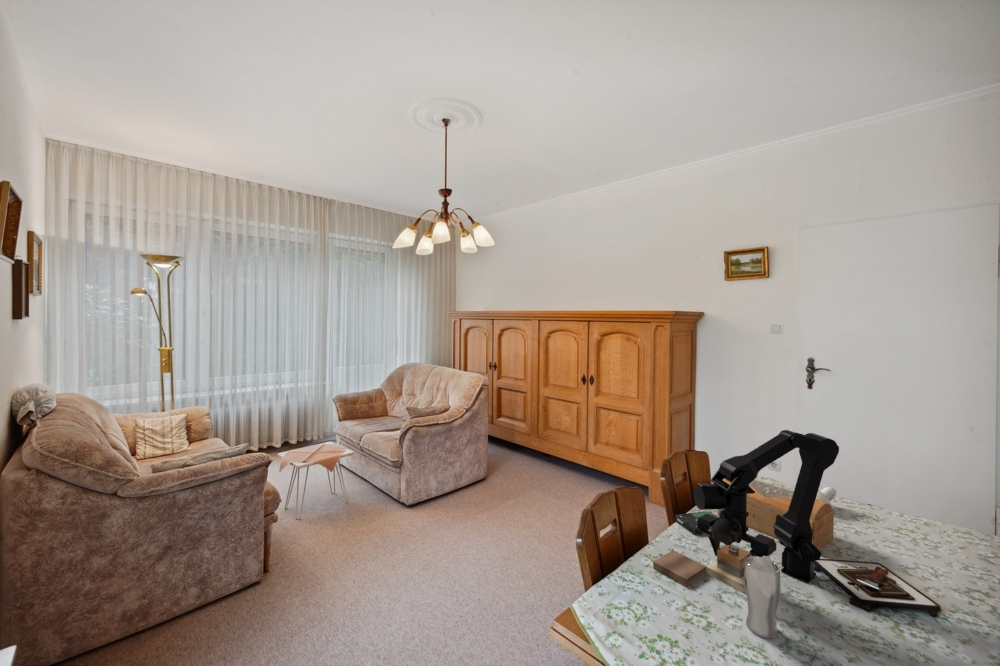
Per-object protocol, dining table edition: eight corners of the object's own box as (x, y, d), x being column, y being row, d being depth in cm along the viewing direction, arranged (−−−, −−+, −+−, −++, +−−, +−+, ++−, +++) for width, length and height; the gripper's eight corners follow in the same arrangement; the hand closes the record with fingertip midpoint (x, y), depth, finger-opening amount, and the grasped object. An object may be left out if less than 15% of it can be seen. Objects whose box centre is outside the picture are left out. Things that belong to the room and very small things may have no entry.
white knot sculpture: (793, 508, 153) (794, 484, 153) (800, 498, 161) (801, 476, 161) (831, 518, 145) (832, 493, 145) (837, 508, 153) (837, 484, 153)
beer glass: (736, 618, 96) (737, 556, 95) (764, 616, 96) (765, 554, 96) (758, 641, 89) (759, 574, 88) (787, 639, 89) (788, 572, 89)
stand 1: (706, 573, 113) (706, 566, 113) (686, 586, 107) (686, 579, 107) (673, 556, 121) (673, 550, 121) (653, 568, 115) (653, 561, 115)
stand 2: (761, 578, 110) (761, 571, 110) (744, 592, 105) (744, 585, 105) (723, 561, 119) (723, 554, 119) (706, 573, 113) (706, 566, 113)
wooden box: (836, 540, 130) (837, 498, 130) (813, 555, 122) (813, 510, 121) (741, 505, 156) (741, 469, 156) (716, 515, 148) (716, 477, 147)
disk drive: (694, 537, 133) (732, 531, 137) (695, 529, 133) (732, 523, 137) (674, 522, 143) (709, 517, 147) (674, 514, 143) (709, 509, 147)
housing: (750, 570, 111) (750, 549, 111) (740, 578, 107) (740, 556, 107) (727, 560, 116) (727, 539, 116) (717, 567, 112) (717, 546, 112)
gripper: (686, 503, 114) (685, 557, 115) (758, 530, 99) (757, 593, 99) (706, 493, 121) (706, 545, 121) (777, 518, 105) (776, 576, 106)
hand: (733, 563), depth 112 cm, fingers open, 9 cm apart
